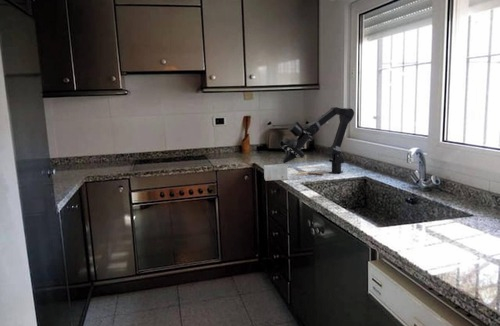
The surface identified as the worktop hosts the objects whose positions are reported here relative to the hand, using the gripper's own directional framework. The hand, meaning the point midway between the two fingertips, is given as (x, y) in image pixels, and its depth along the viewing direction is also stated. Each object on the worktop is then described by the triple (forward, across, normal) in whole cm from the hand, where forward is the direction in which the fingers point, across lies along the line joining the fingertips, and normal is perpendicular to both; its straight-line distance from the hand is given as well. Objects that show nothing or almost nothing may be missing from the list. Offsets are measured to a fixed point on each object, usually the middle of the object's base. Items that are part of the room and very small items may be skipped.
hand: (283, 162), depth 212 cm
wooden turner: (-6, -4, +20) cm, 21 cm away
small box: (+2, -1, +6) cm, 6 cm away
